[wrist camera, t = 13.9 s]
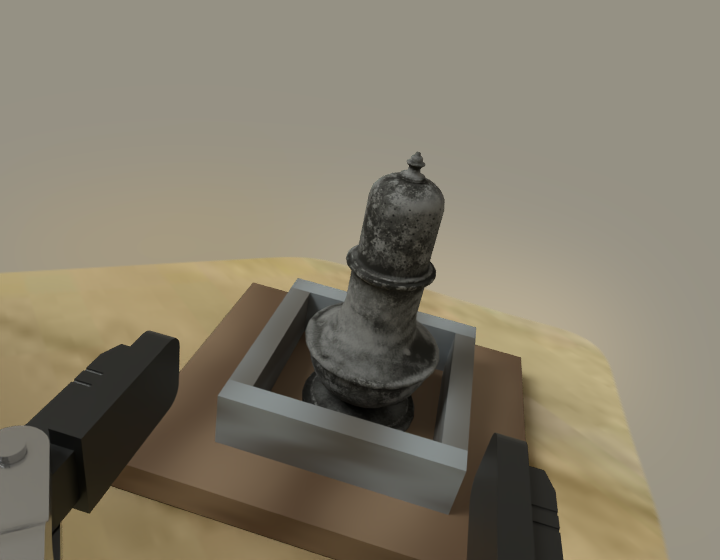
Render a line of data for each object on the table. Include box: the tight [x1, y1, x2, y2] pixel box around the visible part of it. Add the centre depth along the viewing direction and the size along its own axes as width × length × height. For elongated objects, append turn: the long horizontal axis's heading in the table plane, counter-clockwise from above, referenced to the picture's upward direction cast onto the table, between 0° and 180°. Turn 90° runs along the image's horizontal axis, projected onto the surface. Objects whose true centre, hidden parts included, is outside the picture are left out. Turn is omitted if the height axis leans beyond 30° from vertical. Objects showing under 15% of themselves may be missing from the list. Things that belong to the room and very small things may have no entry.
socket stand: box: [111, 278, 526, 560], centre depth 25 cm, size 16×14×4 cm
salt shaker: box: [302, 152, 444, 432], centre depth 23 cm, size 6×6×12 cm
